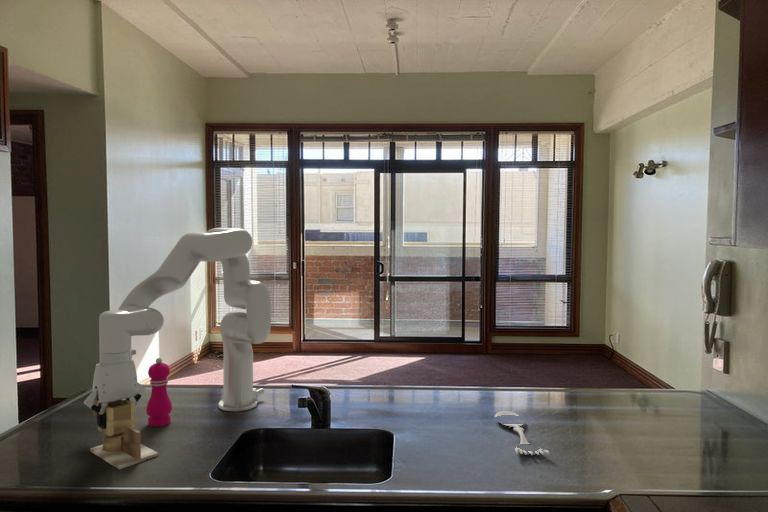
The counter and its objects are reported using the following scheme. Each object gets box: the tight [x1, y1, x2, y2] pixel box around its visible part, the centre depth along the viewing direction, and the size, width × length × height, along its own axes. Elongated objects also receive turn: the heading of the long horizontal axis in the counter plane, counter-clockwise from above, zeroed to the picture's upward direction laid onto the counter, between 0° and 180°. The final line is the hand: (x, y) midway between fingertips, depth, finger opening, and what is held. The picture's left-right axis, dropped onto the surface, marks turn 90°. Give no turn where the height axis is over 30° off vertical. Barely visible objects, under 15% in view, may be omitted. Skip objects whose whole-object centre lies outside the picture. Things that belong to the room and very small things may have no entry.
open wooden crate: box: [92, 399, 136, 436], centre depth 143 cm, size 16×7×7 cm, turn 52°
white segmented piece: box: [494, 410, 550, 456], centre depth 153 cm, size 9×32×4 cm, turn 0°
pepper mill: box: [145, 357, 173, 427], centre depth 159 cm, size 7×7×20 cm
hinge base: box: [89, 425, 159, 470], centre depth 138 cm, size 16×10×10 cm, turn 52°
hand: (116, 423), depth 140 cm, fingers closed on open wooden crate, 6 cm apart
